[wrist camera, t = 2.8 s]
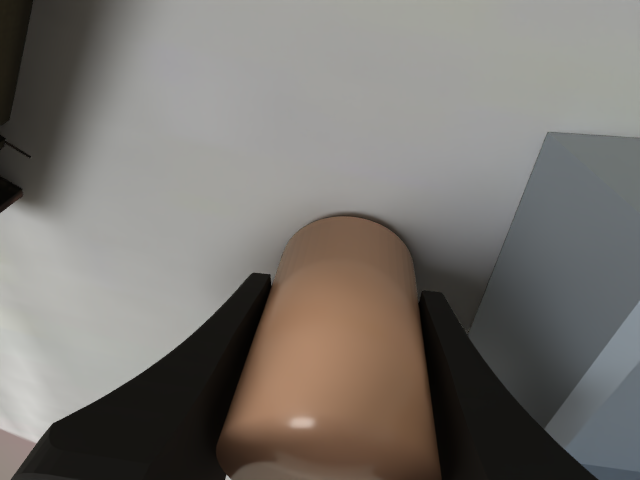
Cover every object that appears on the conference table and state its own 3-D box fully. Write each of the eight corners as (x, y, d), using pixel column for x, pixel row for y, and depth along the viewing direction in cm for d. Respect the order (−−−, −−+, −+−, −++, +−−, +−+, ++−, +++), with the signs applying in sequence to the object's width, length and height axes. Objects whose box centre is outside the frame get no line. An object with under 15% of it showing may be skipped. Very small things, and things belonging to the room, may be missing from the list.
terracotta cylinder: (402, 325, 15) (418, 532, 9) (283, 311, 16) (229, 502, 10) (425, 223, 12) (469, 432, 7) (278, 210, 13) (199, 396, 7)
